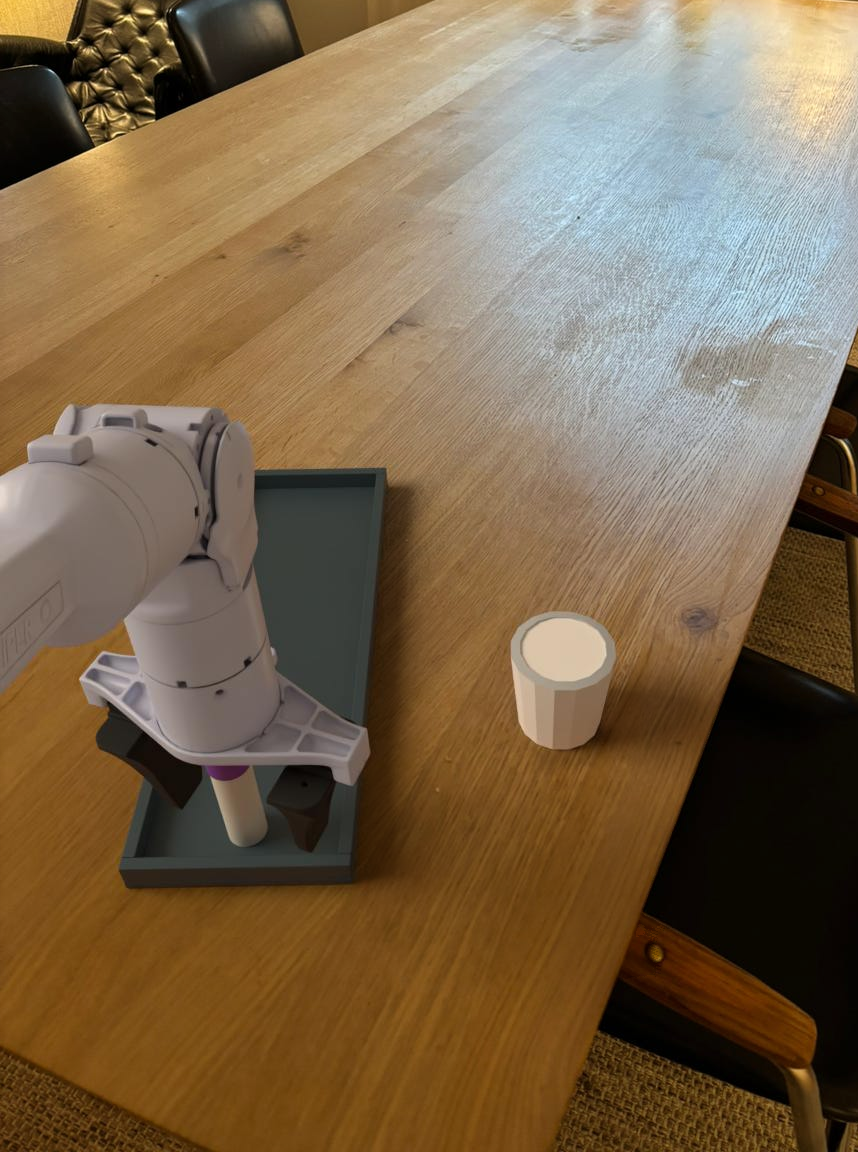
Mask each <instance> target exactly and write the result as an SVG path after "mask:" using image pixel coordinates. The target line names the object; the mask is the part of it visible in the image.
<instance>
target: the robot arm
mask: <svg viewBox="0 0 858 1152" xmlns="http://www.w3.org/2000/svg"><path fill="white" fill-rule="evenodd" d="M26 450H27V451H26V452H27V459H28V461H27V462H25V463H22V464H21V465H18V466H16V467H15V468H13V469H11V470H9V471H7V472H6V473H4V474H2V475H0V697H1V696H2V695H3V693H5V691H7V689H8V688H9V687H10V686H11V684H13V682H15V680H16V679H17V678H18V676H19V675H20V674H21V673H22V672H23V671H24V670H25V668H26V667H27V666H28V665H29V664H30V662H31V661H32V660H33V659H34V658H35V657H36V656H37V654H38V653H40V651H41V650H42V649H43V648H50V649H67V648H74V647H79V646H85V645H87V644H90V643H93V642H95V641H97V640H99V639H101V638H103V637H105V636H107V635H108V634H110V633H111V632H112V631H113V630H114V629H115V628H117V627H118V625H120V624H121V623H122V621H123V623H124V626H125V629H126V632H127V634H128V637H129V641H130V644H131V646H132V649H133V653H134V655H132V654H131V655H129V654H120V653H115V652H111V651H107V650H102V651H101V652H100V653H99V655H97V657H96V658H95V659H94V661H93V662H92V663H90V665H89V666H88V667H87V669H85V670H84V672H83V673H82V674H81V676H80V677H79V678H78V680H79V682H80V685H81V687H82V690H83V692H84V695H85V697H86V700H87V703H88V704H89V705H92V706H95V707H98V708H103V709H105V708H108V709H109V710H108V711H107V713H106V714H107V718H106V719H105V721H104V722H103V723H102V724H101V726H100V727H99V728H98V730H97V731H96V734H95V743H96V746H97V748H98V750H100V751H101V752H102V751H103V752H105V753H107V754H109V755H111V756H113V757H114V758H117V759H119V760H121V761H122V762H124V763H125V764H127V765H129V766H130V767H131V768H132V769H133V770H134V771H136V772H137V773H138V774H140V775H141V776H142V778H145V779H146V780H147V781H148V782H149V783H150V784H151V785H152V786H153V787H154V788H155V789H156V790H157V792H158V793H159V794H160V795H161V796H162V797H163V798H164V799H165V800H166V801H167V802H168V803H169V804H170V805H171V806H173V807H175V808H178V809H181V810H183V808H184V807H185V805H186V804H187V802H188V801H189V799H190V798H191V796H192V795H193V793H194V792H195V790H196V789H197V787H198V786H199V784H200V783H201V781H202V765H206V766H229V765H287V766H285V768H284V770H283V771H282V773H281V775H280V776H279V778H278V780H277V781H276V783H275V785H274V786H273V788H272V790H271V791H270V793H269V795H268V796H267V798H266V801H267V804H269V805H271V806H273V807H275V808H276V809H278V810H279V811H280V812H281V813H282V814H283V816H284V817H285V818H286V820H287V822H288V824H289V826H290V829H291V833H292V836H293V839H294V842H295V844H296V846H297V847H298V848H299V849H300V850H303V851H306V852H309V853H311V852H313V851H314V849H315V847H316V845H317V843H318V841H319V839H320V838H321V836H322V834H323V832H324V830H325V828H326V826H327V825H328V821H329V811H330V805H331V800H332V796H333V792H334V789H335V786H336V783H337V782H340V783H343V784H347V785H350V786H353V785H354V783H355V781H356V780H357V778H358V776H359V774H360V773H361V771H362V769H363V770H364V768H365V766H366V763H367V762H368V759H369V757H370V756H371V747H370V739H369V734H368V732H369V731H368V727H367V728H364V727H361V726H358V725H357V724H356V723H355V722H354V721H352V720H350V719H347V718H344V717H340V716H337V715H336V714H334V713H333V712H331V711H330V710H329V709H327V708H326V707H325V706H323V705H322V704H320V703H319V702H318V701H316V700H315V699H314V698H312V697H311V696H310V695H308V694H307V693H305V692H304V691H303V690H301V689H300V688H299V687H297V686H296V685H294V684H293V683H292V682H290V681H289V680H288V679H286V678H285V677H284V676H282V675H281V674H279V673H278V672H277V671H276V670H275V665H276V663H277V660H278V659H277V654H276V651H275V649H274V648H272V647H270V642H269V637H268V632H267V628H266V623H265V618H264V613H263V609H262V604H261V599H260V595H259V590H258V585H257V580H256V576H255V571H254V566H253V562H252V559H253V557H254V554H255V551H256V548H257V544H258V537H257V530H258V525H257V520H256V515H255V508H254V479H255V472H254V470H255V455H254V445H253V439H252V436H251V435H249V432H248V429H247V428H246V427H245V425H244V424H243V423H242V422H241V421H238V420H234V421H230V419H229V417H228V415H227V413H226V412H223V409H222V408H220V407H211V406H209V407H208V406H207V407H205V406H181V405H179V406H176V405H174V406H173V405H143V404H117V403H116V404H115V403H114V404H111V403H109V404H108V403H97V404H94V405H92V406H87V405H85V404H84V405H80V404H79V405H76V404H74V403H70V404H68V405H67V407H66V408H65V409H64V410H63V411H62V413H61V415H60V416H59V418H58V420H57V422H56V424H55V427H54V430H53V433H52V434H44V435H42V436H40V437H37V438H36V439H34V440H32V441H30V442H29V443H28V444H27V446H26Z"/></svg>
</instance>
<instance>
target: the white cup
mask: <svg viewBox="0 0 858 1152" xmlns="http://www.w3.org/2000/svg"><path fill="white" fill-rule="evenodd" d="M616 651H617V650H616V643H615V640H614V639H613V637H612V636H611V634H610V633H609V631H608V629H607V628H606V627H605V626H603V624H600V623H599V622H598V621H596V620H594V619H593V618H592V617H591V616H587V615H584V614H580V613H577V612H574V611H571V610H570V611H567V610H566V611H565V610H564V611H554V610H553V611H547V612H544V613H540V614H537V615H534V616H532V617H530V618H529V619H528V620H526V621H525V622H523V623H522V624H521V625H519V626H517V629H516V631H515V633H514V634H513V636H512V638H511V639H510V661H511V668H512V677H513V685H514V694H515V703H516V711H517V718H518V719H517V721H518V724H519V726H520V728H521V729H522V731H523V733H524V735H525V736H526V737H528V738H529V739H530V740H532V742H533V743H535V744H536V745H538V746H541V747H544V748H547V749H549V750H572V749H574V748H577V747H581V746H583V745H585V744H586V743H587V742H588V741H590V740H591V739H592V738H593V737H594V736H595V735H596V732H597V731H598V728H599V726H600V723H601V719H602V715H603V711H604V707H605V703H606V701H607V700H606V698H607V695H608V692H609V687H610V683H611V680H612V676H613V672H614V669H615V664H616V660H617V652H616Z"/></svg>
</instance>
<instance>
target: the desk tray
mask: <svg viewBox="0 0 858 1152" xmlns="http://www.w3.org/2000/svg"><path fill="white" fill-rule="evenodd" d="M254 472H255V479H254V508H255V515H256V520H257V525H258V530H257V537H258V544H257V548H256V551H255V554H254V557H253V559H252V562H253V566H254V571H255V576H256V580H257V585H258V590H259V595H260V599H261V604H262V609H263V613H264V618H265V623H266V628H267V632H268V637H269V642H270V647H272V648H274V649H275V651H276V654H277V659H278V660H277V663H276V665H275V670H276V671H277V672H278V673H279V674H281V675H282V676H284V677H285V678H286V679H288V680H289V681H290V682H292V683H293V684H294V685H296V686H297V687H299V688H300V689H301V690H303V691H304V692H305V693H307V694H308V695H310V696H311V697H312V698H314V699H315V700H316V701H318V702H319V703H320V704H322V705H323V706H325V707H326V708H327V709H329V710H330V711H331V712H333V713H334V714H336V715H337V716H340V717H344V718H347V719H350V720H352V721H354V722H355V723H356V724H357V725H358V726H361V727H364V728H367V729H368V719H369V708H370V697H371V696H370V695H371V686H372V685H371V684H372V674H373V661H374V650H375V638H376V628H377V627H376V626H377V617H378V616H377V615H378V606H379V605H378V604H379V593H380V581H381V580H380V579H381V571H382V570H381V569H382V557H383V556H382V555H383V546H384V535H385V534H384V533H385V526H386V525H385V523H386V511H387V502H388V491H389V489H388V488H389V484H388V473H387V467H344V468H343V467H342V468H339V467H338V468H336V467H335V468H283V469H280V468H278V469H275V468H274V469H254ZM285 766H287V765H252V767H253V771H254V775H255V779H256V782H257V786H258V790H259V794H260V798H261V802H262V805H263V809H264V813H265V817H266V821H267V825H268V829H267V832H266V835H265V836H264V838H263V839H262V840H261V841H260V842H258V843H257V844H255V845H253V846H249V847H240V846H237V845H235V844H234V843H233V842H232V841H231V840H230V838H229V835H228V832H227V829H226V826H225V822H224V819H223V816H222V813H221V809H220V806H219V803H218V800H217V797H216V793H215V790H214V787H213V784H212V780H211V777H210V775H209V774H208V773H207V770H206V767H205V765H202V781H201V783H200V784H199V786H198V787H197V789H196V790H195V792H194V793H193V795H192V796H191V798H190V799H189V801H188V802H187V804H186V805H185V807H184V808H183V810H181V809H178V808H175V807H173V806H171V805H170V804H169V803H168V802H167V801H166V800H165V799H164V798H163V797H162V796H161V795H160V794H159V793H158V792H157V790H156V789H155V788H154V787H153V786H152V785H151V784H150V783H149V782H148V781H147V780H146V779H145V778H144V777H142V781H141V784H140V785H141V786H140V789H139V792H138V796H137V799H136V803H135V806H134V810H133V815H132V818H131V821H130V825H129V828H128V833H127V836H126V839H125V843H124V847H123V849H122V854H121V858H120V861H119V864H118V868H117V869H118V872H119V873H118V874H119V875H120V877H121V880H122V882H123V884H124V886H125V888H127V889H135V888H137V889H139V888H140V889H141V888H142V889H143V888H145V889H146V888H192V887H193V888H195V887H196V888H197V887H198V888H200V887H201V888H202V887H250V886H252V887H253V886H256V887H257V886H304V885H305V886H307V885H308V886H309V885H310V886H311V885H312V886H313V885H354V880H355V871H356V859H357V857H356V855H357V846H358V835H359V823H360V812H361V811H360V809H361V801H362V800H361V798H362V788H363V778H364V777H363V776H364V768H363V769H362V771H361V773H360V774H359V776H358V778H357V780H356V781H355V783H354V785H353V786H350V785H347V784H343V783H340V782H337V783H336V786H335V789H334V792H333V796H332V800H331V805H330V811H329V821H328V825H327V826H326V828H325V830H324V832H323V834H322V836H321V838H320V839H319V841H318V843H317V845H316V847H315V849H314V851H313V852H311V853H309V852H306V851H303V850H300V849H299V848H298V847H297V846H296V844H295V842H294V839H293V836H292V833H291V829H290V826H289V824H288V822H287V820H286V818H285V817H284V816H283V814H282V813H281V812H280V811H279V810H278V809H276V808H275V807H273V806H271V805H269V804H267V801H266V798H267V796H268V795H269V793H270V791H271V790H272V788H273V786H274V785H275V783H276V781H277V780H278V778H279V776H280V775H281V773H282V771H283V770H284V768H285Z"/></svg>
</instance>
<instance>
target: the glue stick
mask: <svg viewBox="0 0 858 1152" xmlns="http://www.w3.org/2000/svg"><path fill="white" fill-rule="evenodd" d="M205 767H206V770H207V773H208V774H209V775H210V777H211V780H212V784H213V787H214V790H215V793H216V797H217V800H218V803H219V806H220V809H221V813H222V816H223V819H224V822H225V826H226V829H227V832H228V835H229V838H230V840H231V841H232V842H233V843H234V844H235V845H237V846H240V847H249V846H253V845H255V844H257V843H258V842H260V841H261V840H262V839H263V838H264V836H265V835H266V832H267V829H268V825H267V821H266V817H265V813H264V809H263V805H262V802H261V798H260V794H259V790H258V786H257V782H256V779H255V775H254V771H253V767H252V765H229V766H206V765H205Z"/></svg>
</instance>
